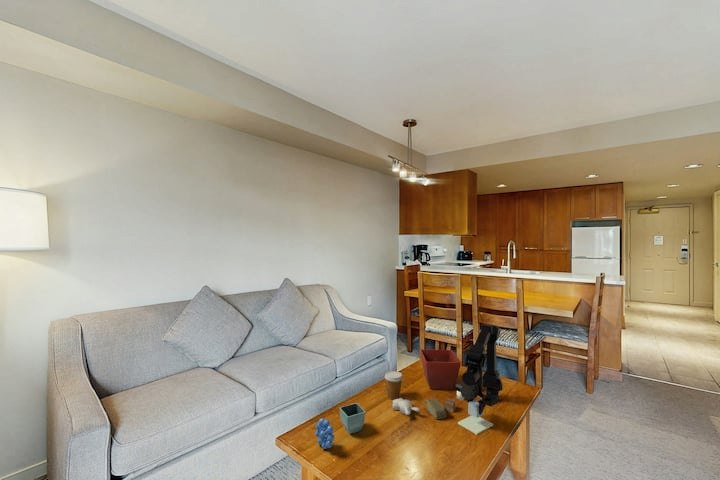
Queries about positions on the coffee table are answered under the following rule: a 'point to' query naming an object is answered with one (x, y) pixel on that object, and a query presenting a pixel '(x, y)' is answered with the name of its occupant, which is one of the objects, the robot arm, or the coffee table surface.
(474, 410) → the slate-blue block
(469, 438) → the coffee table surface
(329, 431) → the grapes
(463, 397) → the ivory rounded cylinder
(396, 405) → the bunny figurine
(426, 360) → the plant pot
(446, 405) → the walnut cube
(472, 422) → the felt mat
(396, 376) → the disposable coffee cup
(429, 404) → the stone block
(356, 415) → the flower pot
